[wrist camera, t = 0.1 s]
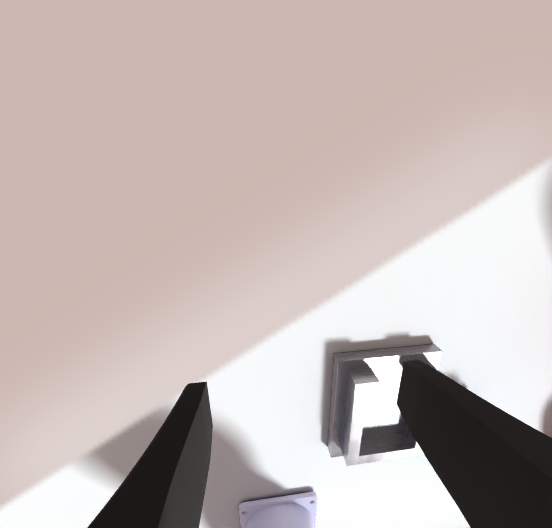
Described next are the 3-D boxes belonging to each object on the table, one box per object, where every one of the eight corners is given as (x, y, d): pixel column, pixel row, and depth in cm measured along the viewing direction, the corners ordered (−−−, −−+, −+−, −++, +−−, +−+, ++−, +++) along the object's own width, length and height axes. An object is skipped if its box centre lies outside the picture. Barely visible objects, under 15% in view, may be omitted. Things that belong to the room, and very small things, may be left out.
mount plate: (414, 435, 26) (430, 461, 24) (327, 446, 25) (336, 474, 23) (434, 343, 22) (456, 363, 20) (334, 353, 22) (345, 375, 19)
